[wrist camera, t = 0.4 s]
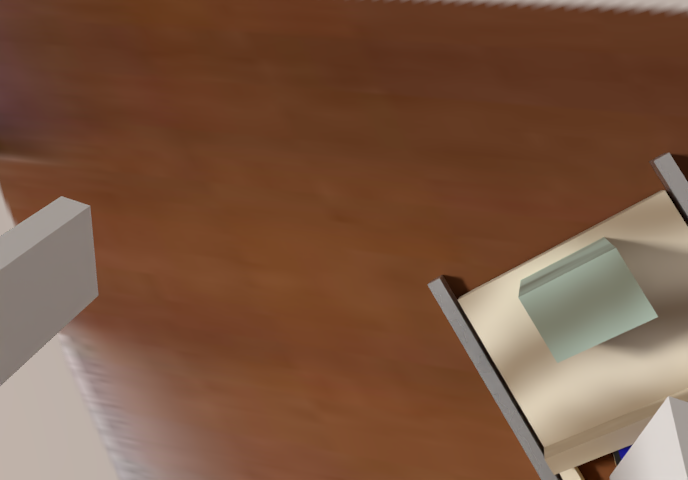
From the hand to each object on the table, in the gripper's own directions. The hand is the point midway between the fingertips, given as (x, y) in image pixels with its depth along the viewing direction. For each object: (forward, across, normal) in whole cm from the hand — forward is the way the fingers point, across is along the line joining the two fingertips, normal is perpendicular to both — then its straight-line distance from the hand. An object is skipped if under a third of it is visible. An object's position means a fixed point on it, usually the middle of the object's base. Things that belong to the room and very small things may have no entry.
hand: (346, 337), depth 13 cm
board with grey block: (+23, -18, +19) cm, 35 cm away
